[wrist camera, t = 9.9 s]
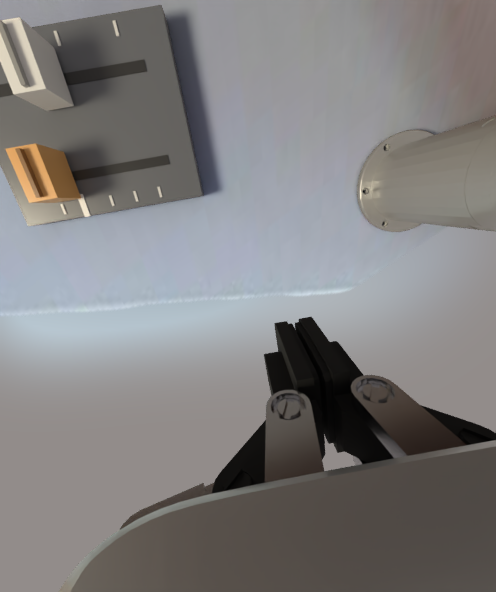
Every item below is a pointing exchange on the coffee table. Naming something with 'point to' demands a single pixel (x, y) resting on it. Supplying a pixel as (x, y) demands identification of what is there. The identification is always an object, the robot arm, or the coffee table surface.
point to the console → (108, 118)
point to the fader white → (32, 66)
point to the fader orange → (43, 173)
